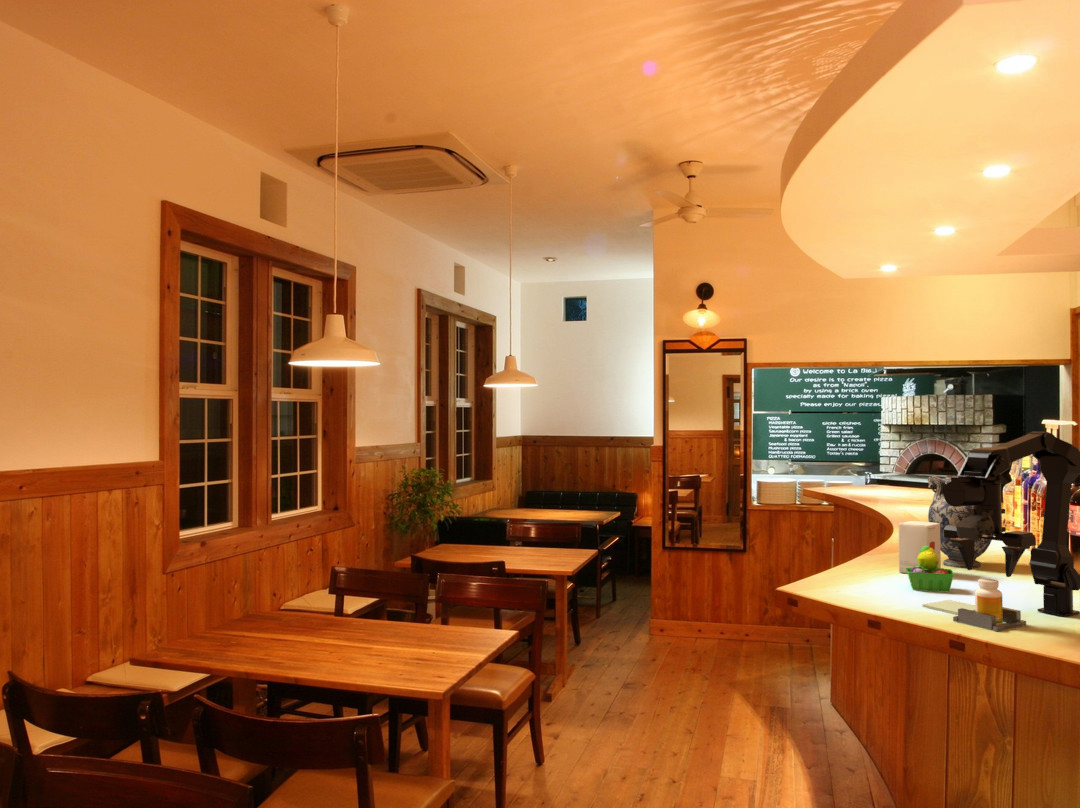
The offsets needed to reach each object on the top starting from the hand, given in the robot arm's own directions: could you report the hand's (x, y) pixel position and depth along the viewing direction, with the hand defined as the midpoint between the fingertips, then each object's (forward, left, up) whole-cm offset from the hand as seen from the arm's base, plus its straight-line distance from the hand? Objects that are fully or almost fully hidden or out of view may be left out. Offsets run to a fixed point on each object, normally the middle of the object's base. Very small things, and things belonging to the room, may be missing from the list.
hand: (988, 573), depth 185 cm
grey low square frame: (0, 0, -11) cm, 11 cm away
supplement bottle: (0, 0, -12) cm, 12 cm away
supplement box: (-38, -47, -12) cm, 62 cm away
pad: (-6, -13, -11) cm, 18 cm away
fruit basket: (-21, -31, -12) cm, 39 cm away
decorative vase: (-60, -49, -12) cm, 78 cm away
